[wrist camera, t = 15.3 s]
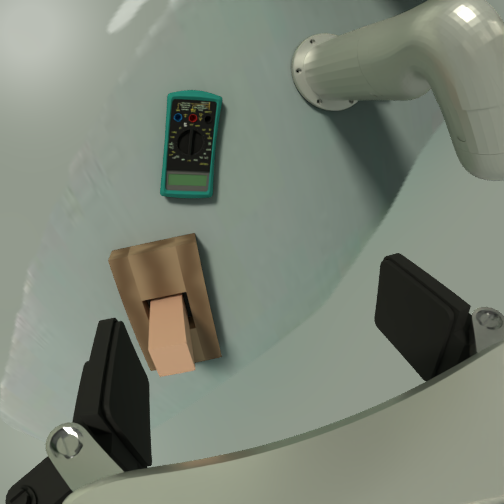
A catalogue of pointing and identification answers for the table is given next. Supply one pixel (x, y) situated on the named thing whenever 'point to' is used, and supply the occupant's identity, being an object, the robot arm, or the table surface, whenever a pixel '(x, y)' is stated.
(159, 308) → the square peg
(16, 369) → the table surface
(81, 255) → the table surface
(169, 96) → the digital multimeter
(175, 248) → the wooden peg hole block
